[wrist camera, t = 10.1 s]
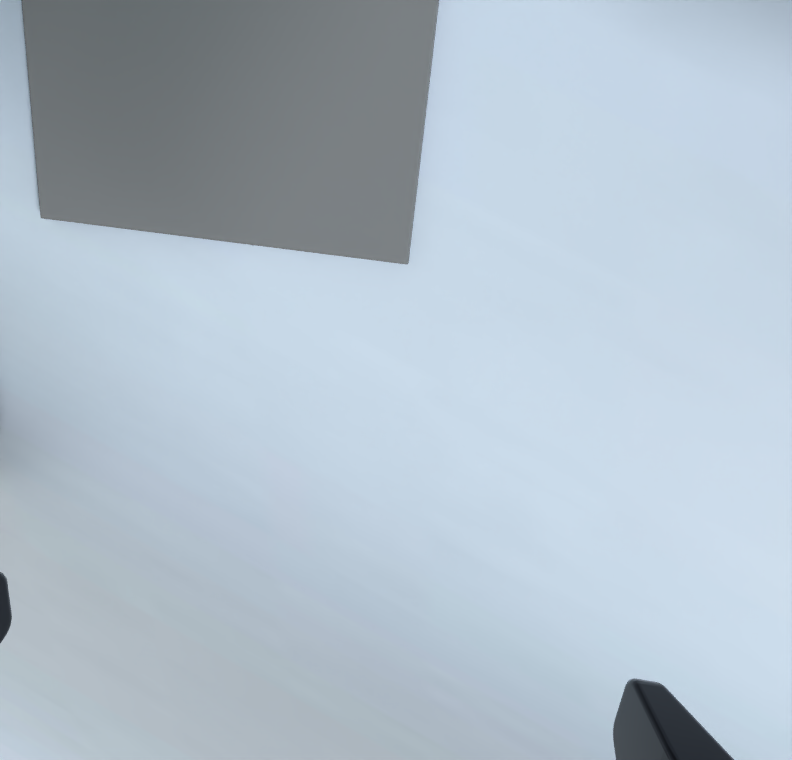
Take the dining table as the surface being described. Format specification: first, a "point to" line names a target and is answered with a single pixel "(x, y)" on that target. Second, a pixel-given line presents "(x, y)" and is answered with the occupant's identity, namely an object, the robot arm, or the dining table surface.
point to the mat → (234, 118)
